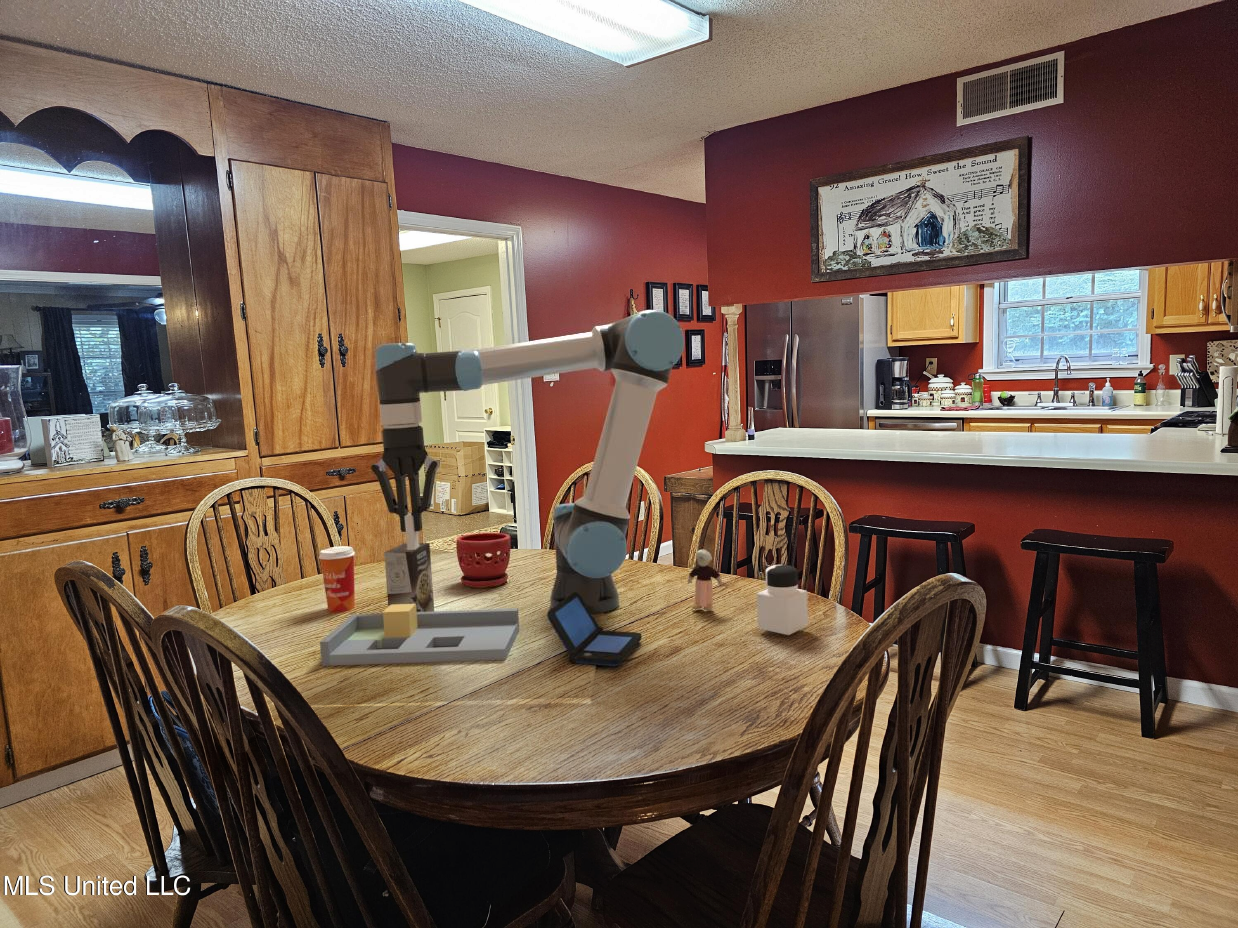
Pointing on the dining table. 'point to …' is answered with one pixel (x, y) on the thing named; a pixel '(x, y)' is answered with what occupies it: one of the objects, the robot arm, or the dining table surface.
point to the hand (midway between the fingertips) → (413, 547)
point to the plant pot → (483, 559)
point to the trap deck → (423, 638)
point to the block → (400, 620)
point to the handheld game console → (589, 634)
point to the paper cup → (338, 578)
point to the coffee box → (410, 577)
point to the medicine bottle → (782, 602)
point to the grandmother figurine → (704, 581)
